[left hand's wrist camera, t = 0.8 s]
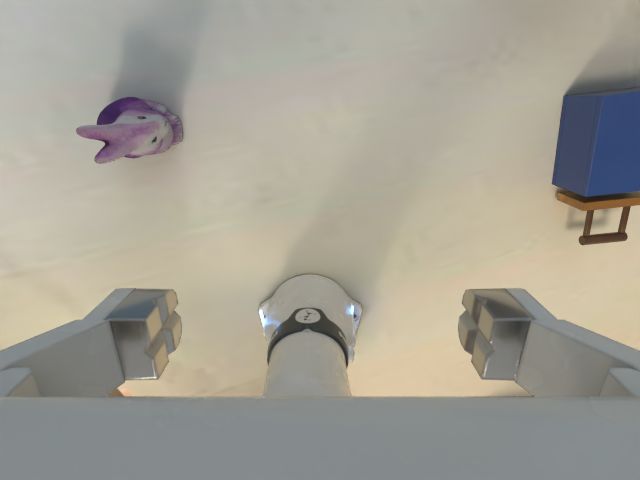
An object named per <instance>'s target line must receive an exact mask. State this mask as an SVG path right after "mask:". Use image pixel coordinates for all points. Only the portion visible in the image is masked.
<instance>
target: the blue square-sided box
mask: <svg viewBox="0 0 640 480" xmlns="http://www.w3.org/2000/svg"><path fill="white" fill-rule="evenodd" d="M552 184H553V185H556V186H558V187H561V188H564V189H566V190H569V191H572V192H574V193H577V194H580V195H583V196H585V197H588V196H598V195H607V194H617V193H626V192H636V191H640V87H634V88H626V89H617V90H609V91H600V92H592V93H583V94H575V95H566V96H564V99H563V107H562V114H561V121H560V129H559V136H558V144H557V151H556V158H555V166H554V173H553V181H552Z"/></svg>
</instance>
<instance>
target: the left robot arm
mask: <svg viewBox="0 0 640 480" xmlns="http://www.w3.org/2000/svg"><path fill="white" fill-rule="evenodd" d="M177 304H178V300H177V295H176V292H175V291H174V290H173V289H136V288H121V289H115V290H114V291H113V292H112V293H111V294H110V295H109V296H108V297H107V298H106V299H104V300H103V301H102V302H101V303H100V304H99V305H98V306H97V307H96V308H95V309H93V310H92V311H91V312H90V313H89V314H88V315H87V316H86V317H85V318H84V319H83V320H75V321H72V322H70V323H67V324H65V325H62V326H60V327H57V328H55V329H53V330H50V331H48V332H45V333H43V334H40V335H38V336H35V337H33V338H30V339H28V340H26V341H23V342H21V343H18V344H16V345H13V346H11V347H8V348H6V349H4V350H1V351H0V480H640V351H639V350H636V349H634V348H631V347H629V346H626V345H624V344H622V343H619V342H617V341H614V340H612V339H609V338H607V337H605V336H602V335H600V334H597V333H595V332H592V331H590V330H587V329H585V328H583V327H580V326H578V325H575V324H573V323H570V322H568V321H565V320H557V319H556V318H555V317H554V316H553V315H552V314H551V313H550V312H549V311H548V310H547V309H545V308H544V307H543V306H542V305H541V304H540V303H539V302H538V301H537V300H536V299H535V298H533V297H532V296H531V295H530V294H529V293H528V292H527V291H526V290H525V289H521V288H509V289H505V288H503V289H469V290H466V291H465V293H464V295H463V299H462V304H463V306H464V307H465V309H466V311H465V312H464V313H463V314H462V315H461V316H460V317H459V324H458V332H459V339H460V342H461V344H462V346H463V348H464V350H465V351H467V352H468V353H470V354H472V360H471V362H472V364H473V366H474V367H475V369H476V371H477V372H478V374H479V376H480V377H481V379H482V380H515V382H516V383H517V384H519V385H520V386H521V387H523V388H524V389H525V390H527V391H528V392H529V393H531V394H532V395H533V396H535V397H352V394H351V391H350V386H349V381H348V376H347V366H348V363H352V362H353V360H354V350H353V349H352V347H354V346H355V336H356V333H357V329H358V326H359V322H360V318H361V315H362V306H361V305H360V304H359V303H358V302H356V301H354V300H353V299H351V298H349V297H348V295H347V294H346V293H345V291H344V290H343V289H342V288H341V287H340V286H339V285H338V284H337V283H336V282H334V281H333V280H331V279H329V278H326V277H324V276H320V275H313V274H307V275H300V276H296V277H293V278H291V279H289V280H287V281H286V282H284V283H283V284H282V285H281V286H280V287H279V288H278V289H277V290H276V292H275V293H274V294H273V296H272V297H271V298H270V299H268V300H266V301H265V302H263V303H262V304H260V306H259V308H258V314H259V317H260V320H261V323H262V326H263V335H264V336H265V337H266V341H267V344H268V353H267V355H268V358H267V362H268V371H267V376H266V382H265V387H264V392H263V397H106V396H107V395H108V394H110V393H111V392H112V391H114V390H115V389H116V388H118V387H119V386H120V385H122V384H123V383H124V382H125V380H157V379H159V377H160V376H161V374H162V372H163V371H164V369H165V367H166V366H167V364H168V362H169V360H168V354H170V353H172V352H173V351H175V350H176V348H177V346H178V344H179V342H180V338H181V334H182V323H181V317H180V316H179V315H178V314H177V313H176V312H175V311H174V309H175V307H176V306H177ZM354 314H355V315H356V316H353V315H354ZM265 315H266V316H265Z"/></svg>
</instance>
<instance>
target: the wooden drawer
mask: <svg viewBox="0 0 640 480" xmlns="http://www.w3.org/2000/svg"><path fill="white" fill-rule="evenodd" d="M557 200H559V201H561V202H564V203H566V204H568V205H570V206H573V207H575V208H577V209H580V210H582V211H587V215H586V221H585V226H584V232H583V235H584V236H580V237H579V243H580V244H581V245H589V244H599V243H609V242H619V241H626V240H627V234H626V233H625V229H626V225H627V220H628V216H629V211H630V207H631V206H635V205H640V191H636V192H626V193H617V194H607V195H598V196H588V197H585V196H583V195H580V194H577V193H574V192H572V191H569V192H560V193H558V199H557ZM615 207H623V211H622V215H621V220H620V225H619V229H618V232H614V233H604V234H594V235H590V229H591V224H592V218H593V213H594V210H596V209H606V208H615Z"/></svg>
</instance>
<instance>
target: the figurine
mask: <svg viewBox="0 0 640 480" xmlns="http://www.w3.org/2000/svg"><path fill="white" fill-rule="evenodd" d="M181 125H182V124H181V121H180V119H179V118H178V117H177V116H175V115H173V114H170V113H169V111H168V109H167V108H166V107H164V106H163V105H161V104H158V103H155V102H151V101H147V100H142V99H139V98H135V97H127V98H122V99H119V100H117V101H115V102H113V103H111V104H109V105H108V106H107V107H105V108H104V109H103V111H102V112H101V113H100V115H99V117H98V120H97V125H88V126H81V127H78V128H77V129H76V133H77V134H78V135H80V136H82V137H85V138H89V139H95V140H100V141H103V142H105V146H104V147H103V148H102V149H101V150H100V151H99V152H98V154H97V155H96V156H95V162H96V163H100V164H101V163H102V164H103V163H107V162H111V161H115V160H116V159H119V158H121V157H123V156H124V157H128V158H138V157H141V156H143V155H149V154H157V153H161V152H164V151H166V150H167V149H169V147H170V146H171V145H175V144H178V143H180V142H181V141H182V138H183V133H182V126H181Z"/></svg>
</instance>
